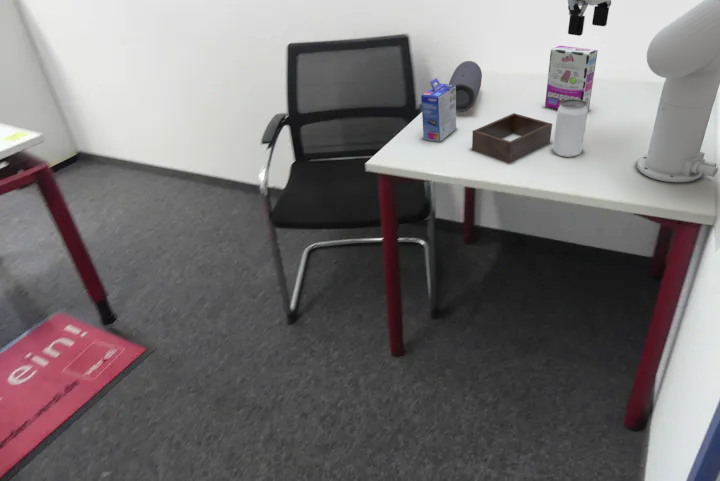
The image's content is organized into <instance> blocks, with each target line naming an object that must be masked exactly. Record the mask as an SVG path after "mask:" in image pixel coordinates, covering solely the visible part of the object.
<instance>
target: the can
mask: <svg viewBox="0 0 720 481" xmlns="http://www.w3.org/2000/svg"><path fill="white" fill-rule="evenodd" d="M560 104H561V105H560V106H559V108H558V110H557V113H556V121H555V128H554V138H553V144H552V145H553V146H552V151H553V152H554V154H555V155H557V156H560V157H565V158H573V157H577V156H579V155H580V154H581V153H582V151H583V147H584V146H583V145H584V140H585V138H584V137H585V132H586V125H587V118H588V111H589V110H588V109H587V107H586V105H587V103H586V102H585V101H583V100H579V99H567V100H563V101H561V103H560Z"/></svg>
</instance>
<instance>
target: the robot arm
mask: <svg viewBox="0 0 720 481" xmlns="http://www.w3.org/2000/svg"><path fill="white" fill-rule="evenodd" d="M567 4H568V6H567V9H568V11H569V12H568V15H569V22H568V28H567V29H568V30H567V34H568V35H570V36H571V35H572V36H578V37H580V36H582V35H583V32H584V26H585V18H586V16H585V15H584V14H585V12H586V10H587V8H588V6H591V7H592V6H594V8H593V15H592V21H591V22H592V23H591V25H592V26H598V27H606V26H607V24H608V16H609V11H610V7H611V5H612V0H567ZM580 6H581V7H580ZM646 63H647V66H648V68H649V69H650V70H651V72H652V73H654V74H655V75H656V76H658V77H660V78H663V79H665V80H664V83H663V86H662V90H661V94H660V97H659V101H658V106H657V112H656V115H655V120H654V123H653V129H652V133H651V137H650V142H649V146H648V150H647V154H645V155H643V156H641V157H639V159H638V160H637V164H636V167H637V170H638V171H639V172H640V173H641V174H643V175H644V176H645V177H648V178H651V179H654V180H657V181H662V182H665V183H666V182H668V183H688V182H693V181H696V180H697V179H700V178H701V177H703V175H704V176H708V177H711V178H714V177H715V176H716V175H717V172H718V167H717V163H716V162H713V161H706V160H705V159H704V157H705V152H703V151H701V150H702V146H703V143H704V139H705V135H706V132H707V128H708V125H709V121H710V117H711V113H712V110H713V107H714V104H715V101H716V97H717V94H718V90H719V88H720V0H702V1H701V2H699V3H698V4H696V5H695V6H694V7H692V8H691V9H690V10H688V11H686V12H685V13H683V14H682V15H681V16H679V17H678V18H676V19H675V20H673V21H672V22H670V23H669V24H667V25H666V26H665V27H663V28H662V29H660V30H659V31H658V32H657V33H656V34H655V35H654V37H653V38H652V39H651V41H650V43H649V45H648V46H647V51H646Z"/></svg>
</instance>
